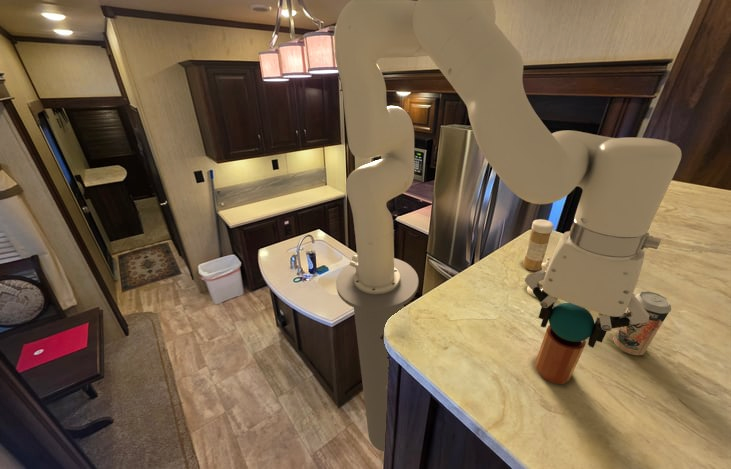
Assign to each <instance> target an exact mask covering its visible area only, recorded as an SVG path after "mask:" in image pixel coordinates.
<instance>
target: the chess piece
mask: <svg viewBox="0 0 731 469" xmlns="http://www.w3.org/2000/svg"><path fill="white" fill-rule="evenodd" d="M545 260H546V261H545V262H544V261H543V262H542V264H541V266H542V267H541V270H542V269H545V268H548V266H549V263H550V261H551V257H549V256H547V257H546V259H545ZM543 281H544V280H542V281H539V284H541V285H543ZM526 291H527V293H528V294H529V295H530V296H532V297H534V298H535V299H536V298H537V297H536V296H535V295H534V293H533V290H532V289H531V288H530V287H529V286H528V285H527V288H526ZM537 299H538V298H537Z"/></svg>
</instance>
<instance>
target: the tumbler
mask: <svg viewBox="0 0 731 469" xmlns="http://www.w3.org/2000/svg"><path fill="white" fill-rule="evenodd" d="M586 344H587V339H586V340H583V341H579V342H572V341H568V340H565V339H563V338H561V337H559V336H558V335H557V334H556V333H555V332H554V331H553V330H552V328H551V326H550V324H549V325H548V326H547V327H546V330H545V333H544V337H543V339H542V342H541V345H540V347H539V351H538V353H537V356H536V359H535V362H534V365H535V369H536V371H537V373H538V374H539V375H540V377H542V378H543V379H544V380H546V381H548V382H550V383H552V384H556V385H564V384H566V383H568V382H569V381H570V379H571V378H572V376H573V373H574V371H575V369H576V366H577V365H578V362H579V360H580V358H581V356H582V353H583V351H584V349H585V347H586Z"/></svg>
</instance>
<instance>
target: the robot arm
mask: <svg viewBox="0 0 731 469" xmlns="http://www.w3.org/2000/svg"><path fill="white" fill-rule="evenodd" d="M496 12H497V11H496V7H495V2H494V1H493V0H350V1H348V2H347V3H346V4H345V6H344V7H343V8H342V9H341V11H340V13H339V16H338V17H337V21H336V23H335V27H334V34H333V52H334V53H333V54H334V58H335V63H336V68H337V71H338V75H339V79H340V80H339V81H340V84H341V90H342V91H341V92H342V100H343V110H344V118H345V119H344V120H345V128H346V138H347V142H348V143H347V144H348V147H349V150H350V152H351V154H352V155H353V156H354V157H355V158H356V159H360V160H370V159H375V158H379V157H380V159H377V160H374V161H371V162H369V163H366V164H363V165H361V166H359V167H357V168H356V169H354V170H352V172H351V173H349V175H348V177H347V178H346V182H345V192H346V195H347V198H348V201H349V205H350V209H351V213H352V219H353V226H354V227H353V229H354V235H355V237H354V238H355V245H356V246H355V247H356V254H353V255H352V257H351V260H350V262H349V264H350V265H351V266H353V267H355V268H356V273H355V274H354V284H355V286H356V287H357V288H358V289H359V290H361V291H363V292H365V293H368V294H384V293H387V292H390V291H392V290H394V289H395V288H396V287H397V286H398V285H399V283H400V273H399V271H398V270H397V269H396V268H395V267H394V258H395V241H394V240H395V238H394V237H395V236H394V233H395V232H394V219H393V215H392V213H391V212H390V210H389V209H388V207H387V204H388V202H389V201H391V200H392V199H394V198H396V197H399V196H400V195H402V194H403V193H406V192H407V191H408V190H409V189H410V187H411V186H412V184H413V182H414V179H415V129H414V124H413V121H412V118H411V117H410V115H409V113H408V112H407V111H406V110H405V109H404V108H402V107H400V106H396V105H388V102H387V86H386V81H385V77H384V75H383V73H382V70H381V69H380V67H379V65H378V63H377V62H378V60H379V59H381V58H389V59H392V58H393V59H394V58H416V57H429V58H430V59H431V61H432V62H433V64H434V65H435V66H436V67H437V68H438V69H439V72H441V74H442V75H443V76H444V78H445V79H446V80H447V82H449V84H450V86H452V88H453V89H454V91H455V92H456V93H457V95H458V96H459V97H460V99H461V100H462V101H463V103H464V105H465V106H466V109H467V113H468V114H467V116H468V119H469V120H468V121H469V123H470V126H471V129H472V133H473V136H474V138H475V141H476V144H477V146H478V148H479V150H480V152H481V154H482V155H483V157H484V159H486V161H487V163H488V164H489V165H490V167H491V168H492V169H493V171H494V172H495V173H496V175H497V176H498V178H499V179H500V180H501V181H502V182H503V184H504V185H505V186H506V187H507V188H508V189H509V191H511V193H513V194H514V195H516V196H517V197H518V198H520V199H521V200H523V201H525V202H527V203H531V204H535V205H548V204H553V203H556V202H558V201H561V200H563V199H564V198H566V197H567V196H568V195H569V194H571V193H572V192H573V191H574V190H575V189H576V187H578V188H580V189H581V190H582V193H581V194H580V195H581V196H580V197H579V198H580V199H579V202H578V205H577V208H576V211H575V214H574V217H573V221H572V224H571V227H570V230H567V231H565V232H564V233H563V234H562V235H561V237H560V239H559V241H558V242H557V244H556V247H555V249H554V251H553V253H552V255H551V257H550V260H549V266H548V268H545V269H542V268H541V269H540V270H537V271H534V272H532V273H529V274H527V275H526V277H525V278H524V282H525V284H526V285H527V287H528V286H529V287H530V288H531V289H532V290H533V293H534V295H535V296H536V297H537V300H538V301H539V305H540V307H541V308H540V311H539V313H538V319H541V320H542V321H541V323H540V327H541V328H546V329H547V325H548V323H549V316H550V313H551V311H552V309H553V308H554V307H555V302H556V301H557V300H561V301H563V302H565V303H572V304H574V305H577V306H580V307H583V308H585V309H587V310H588V311H592V312H594V313H598V317H596V320H595V321H594V322H595V327H594V331H593V333H592V335H591V336H590V337H589V338H588V342H587V346H588V347H589V348H592V349H594V347H595V346H596V343H597V342H599V343H603V340H604V339H605V336H606V335H607V332H610V331H612V329H616V328H617V329H618V328H619V327H625V326H629V324H640V323H647V322H648V321H649V314H648V312H647V311H646V310H645V308H644V307H643V306H642V304H641V303H640V302H639V301H638V299H637V298H636V297H635V294H634V292H635V290H636V287H637V284H638V281H639V279H640V278H639V277H640V275H641V270H642V268H643V264H644V258H645V250H644V249H649V248H650V249H655V250H657V249H658V248H659V246H660V244H661V240H662V238H658V237H654V236H653V235H650V233H649V229H650V227H651V225H652V223H653V221H654V219H655V217H656V214H657V213H658V210H659V208H660V205H661V204H662V201H664V200H663V199H664V197H665V195H666V193H667V191H668V188H669V187H670V185H671V183H672V180H673V178H674V176H675V173H676V172H677V170H678V168H679V165H680V162H681V160H682V150H681V148H680V147H679V146H678V145H677V144H676V143H673V142H670V141H668V140H663V139H658V138H651V137H610V136H604V135H598V134H593V133H589V132H583V131H578V130H566V129H565V130H559V131H558V130H557V131H555V132H551V131H550V130H549V129H548V127H547V126H546V125H545V124H544V122H543V121H542V120H541V118H540V117H539V116H538V114H537V113H536V111H535V109H534V108H533V106H532V104H531V103H530V101H529V98H528V97H527V94H526V91H525V88H524V82H523V80H524V79H523V77H524V60H523V58H522V57H523V56H522V55H521V53H520V52H519V51H518V49H517V48H516V46H514V44H513V43H512V42H511V41H510V39H508V37H507V36H506V35H505V34H504V33H503V31H502V30H501V28H499V26H498V25H497V24H496V19H497V17H496V14H497V13H496ZM354 261H355V262H354ZM356 262H357V263H356ZM542 280H544V281H543V285H541V284H539V281H542ZM536 297H535V298H536ZM628 309H629V310H630V311H631V312H628V313H627V310H628Z"/></svg>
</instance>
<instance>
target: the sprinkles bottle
mask: <svg viewBox="0 0 731 469" xmlns="http://www.w3.org/2000/svg"><path fill="white" fill-rule="evenodd" d="M553 229H554V223H553V222H552V221H550V220H547V219H542V218H541V219H540V218H539V219H535V220H533V221H532V224H531V231H530V235H529V240H528V243H527V246H526V249H525V253H524V254H525V255H524V259H523V262H522V266H523V267H524V269H527V270H529V271H534V272H537V271H540V270H542V266H541V264H542V263H544V259H545V256H546V252H547V248H548V245H549V242H550V241H549V240H550V237H551V234H552V232H553Z"/></svg>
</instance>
